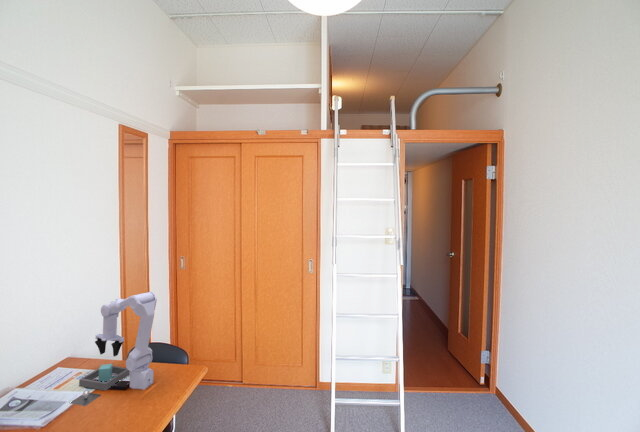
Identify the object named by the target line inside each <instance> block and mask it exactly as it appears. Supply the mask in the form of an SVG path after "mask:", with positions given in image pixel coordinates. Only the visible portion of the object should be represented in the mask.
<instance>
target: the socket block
mask: <svg viewBox="0 0 640 432" xmlns="http://www.w3.org/2000/svg"><path fill="white" fill-rule="evenodd" d="M112 366H113V363H107V364H106V363H105V364H101V365H100V367H99V368H98V369H99V376H98V377H97V378H98V380H97V381H109V380H110V379H112V378H113V373H112Z"/></svg>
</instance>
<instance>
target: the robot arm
mask: <svg viewBox="0 0 640 432" xmlns="http://www.w3.org/2000/svg"><path fill="white" fill-rule="evenodd" d="M157 300H158V298H157V297H156V294H155V293H154V292H153V291H148V292H143V293H138V294H134V295H130V296H128V297H127V298H119V297H118V298H116V299H115V301H111V302H110V303H108V304H103V305H101V307H100V314H101V316H102V318H103V319H102V320H103V321H102V333H98V334H96V335H95V337H94V338H95V341H94V343H95V345H96V346H97V348H98V352H99V354H100V355H103V354H105V353H106V347H107V346H106V345H107V342H108V341H112V342H113V343H110V344H111V347H112V354H113V357H117V356H119V353H120V349H121V347H122V345H123V343H124V342H125V337H124V336H123V337H122V336H121V335H118V334H117V333H118V331H117V329H118V326H117V325H118V318H119V314H120V312H123V311H125V310H126V309H127V308H128V306H129V308H130V309H131V310H132V311H133V313H134V314H135V315H136V316H138V317H140V319H139V323H138V330H137V335H136V339H135V344H134V348H133V349H132V350H131V351H130V352H129V354H128V357H127V358H126V361H125V368H127V369H128V370H129V371H130V376H129V388H131V389H133V390H137V389H138V390H144V391H145V390H146V389H147V388H149V387H150V386H151V385H152V384H153V383H154V369H152V368H150V363H152V361H153V349H152V348H151V347H150V346H149V343H150V340H151V339H150V337H151V333H152V330H153V329H152V328H153V324H154V318H155V310H156V307H157Z"/></svg>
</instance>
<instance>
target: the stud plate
mask: <svg viewBox="0 0 640 432" xmlns="http://www.w3.org/2000/svg"><path fill="white" fill-rule="evenodd" d="M101 396H102V394H101V393H100V394H99V393H93V392H90V391H89V390H85V391H83V393H82V394H81V395H79V396H77V397H76V398H74V399H73V400H71V401H72V402H71V401H70V402H71V403H70V404H73V405H77V406H83V407H86V406H88V405H90V403H92V402H93V401H95V400H97V399H98V398H100V397H101Z"/></svg>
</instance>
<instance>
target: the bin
mask: <svg viewBox="0 0 640 432" xmlns="http://www.w3.org/2000/svg"><path fill="white" fill-rule="evenodd" d="M112 374H115V375H116V376H113V377H112V378H111V380H109V381H107V382H100V381H98V380H94V379H96V378H99V368H97V369H95V370H94V371H92V372H89V373H88V374H87V375H85V376H83V377H81V378H80V379H79V383H78V384H79V385H78V387H81V388H82V387H83V388H87V389H94V390H101V391H107V390H109V389H111V388H112V387H114V386H115V385H116V384H115V383H116V382H117V381H119V380H121V381H123V380H124V379H126V378H127V377H130V376H129V375H130V371H129V370H128V369H127V368H126V367H122V366H116V365H112ZM123 378H124V379H123ZM92 379H93V380H92ZM119 382H120V381H119ZM114 384H115V385H114ZM113 385H114V386H113ZM111 386H112V387H111Z"/></svg>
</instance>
